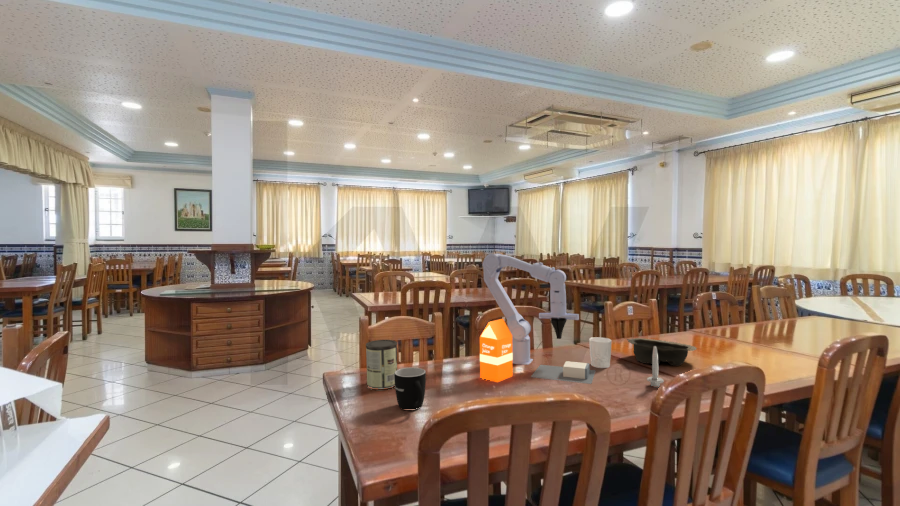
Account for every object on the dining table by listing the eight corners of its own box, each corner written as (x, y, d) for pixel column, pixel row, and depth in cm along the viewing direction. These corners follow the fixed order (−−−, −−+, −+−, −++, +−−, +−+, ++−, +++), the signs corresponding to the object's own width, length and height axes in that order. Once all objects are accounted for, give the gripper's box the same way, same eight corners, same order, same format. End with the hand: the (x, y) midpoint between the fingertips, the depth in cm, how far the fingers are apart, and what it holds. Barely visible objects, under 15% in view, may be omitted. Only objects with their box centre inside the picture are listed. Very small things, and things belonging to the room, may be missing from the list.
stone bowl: (630, 367, 160) (629, 341, 160) (623, 355, 183) (623, 333, 184) (706, 371, 152) (705, 344, 153) (689, 358, 176) (688, 335, 177)
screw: (655, 389, 136) (643, 384, 141) (667, 387, 138) (654, 382, 142) (655, 348, 136) (643, 345, 140) (667, 346, 138) (654, 343, 142)
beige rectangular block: (563, 366, 149) (587, 368, 146) (566, 361, 156) (589, 363, 153) (563, 376, 149) (587, 379, 146) (566, 370, 156) (589, 373, 153)
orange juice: (479, 378, 150) (479, 320, 149) (495, 372, 156) (494, 317, 155) (498, 383, 144) (497, 323, 144) (513, 377, 151) (512, 319, 150)
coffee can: (376, 379, 150) (375, 338, 150) (403, 381, 147) (402, 340, 147) (360, 388, 141) (359, 345, 140) (389, 391, 137) (388, 347, 137)
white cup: (608, 363, 166) (608, 337, 165) (614, 369, 158) (614, 342, 158) (587, 363, 166) (587, 337, 166) (591, 369, 159) (591, 341, 158)
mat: (530, 377, 149) (530, 377, 149) (540, 365, 164) (540, 364, 164) (591, 384, 141) (591, 383, 141) (595, 371, 156) (595, 370, 156)
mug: (390, 404, 127) (389, 370, 126) (418, 398, 131) (418, 365, 131) (406, 419, 116) (405, 381, 116) (436, 412, 120) (435, 376, 120)
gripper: (536, 303, 162) (537, 339, 162) (576, 304, 156) (577, 341, 156) (540, 300, 169) (541, 335, 169) (579, 301, 163) (580, 337, 163)
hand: (559, 338), depth 163 cm, fingers closed
